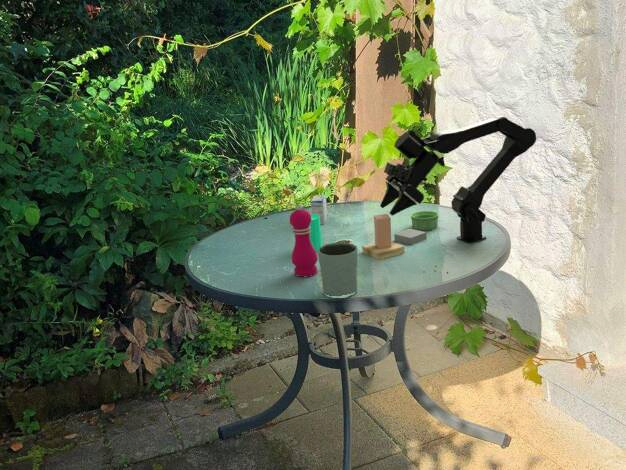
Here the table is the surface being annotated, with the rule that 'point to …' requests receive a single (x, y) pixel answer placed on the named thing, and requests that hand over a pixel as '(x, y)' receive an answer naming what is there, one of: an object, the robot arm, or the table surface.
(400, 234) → the slate block
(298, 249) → the pepper mill
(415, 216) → the ramekin
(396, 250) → the oak block
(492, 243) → the table surface
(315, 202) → the medicine box
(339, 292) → the plant pot
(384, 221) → the terracotta block
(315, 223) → the candle
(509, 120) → the robot arm
